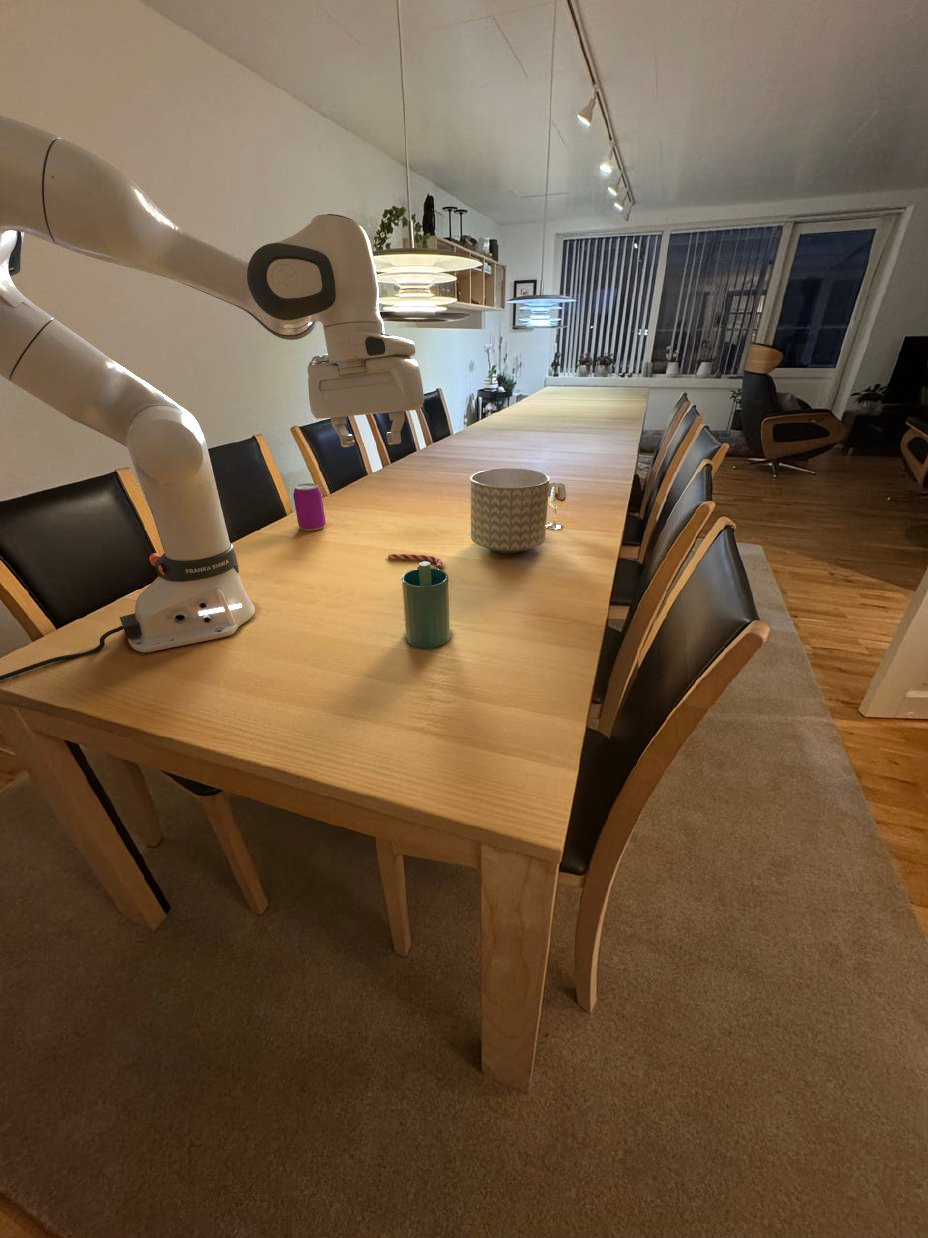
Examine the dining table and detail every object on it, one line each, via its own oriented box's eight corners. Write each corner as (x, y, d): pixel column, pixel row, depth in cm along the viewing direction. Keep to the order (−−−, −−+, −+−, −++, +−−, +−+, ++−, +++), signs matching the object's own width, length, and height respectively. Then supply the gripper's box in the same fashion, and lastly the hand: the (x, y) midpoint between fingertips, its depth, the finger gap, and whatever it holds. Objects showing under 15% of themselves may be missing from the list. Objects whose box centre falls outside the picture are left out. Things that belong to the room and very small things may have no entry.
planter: (481, 532, 143) (482, 466, 135) (549, 538, 139) (554, 470, 130) (461, 557, 128) (460, 484, 119) (537, 565, 123) (542, 490, 114)
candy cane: (394, 549, 129) (448, 557, 124) (395, 554, 130) (448, 562, 125) (378, 560, 123) (434, 570, 118) (378, 565, 124) (434, 575, 119)
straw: (426, 638, 93) (422, 566, 86) (420, 633, 94) (416, 563, 88) (435, 634, 94) (432, 564, 87) (429, 630, 95) (426, 560, 89)
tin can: (420, 653, 90) (416, 591, 84) (398, 634, 95) (393, 574, 90) (458, 639, 94) (457, 579, 88) (434, 621, 99) (432, 564, 94)
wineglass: (557, 522, 150) (561, 481, 144) (567, 528, 146) (571, 486, 140) (539, 524, 149) (542, 483, 143) (548, 531, 144) (552, 488, 138)
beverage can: (316, 532, 144) (310, 490, 139) (293, 530, 147) (286, 488, 141) (331, 524, 151) (325, 483, 145) (308, 521, 153) (302, 481, 147)
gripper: (291, 357, 80) (309, 449, 85) (399, 338, 70) (411, 444, 76) (319, 358, 85) (334, 446, 90) (424, 341, 76) (433, 440, 81)
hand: (370, 445), depth 83 cm, fingers open, 8 cm apart
